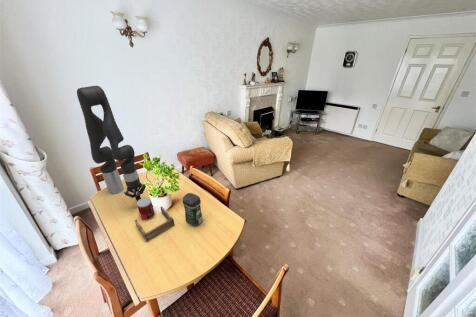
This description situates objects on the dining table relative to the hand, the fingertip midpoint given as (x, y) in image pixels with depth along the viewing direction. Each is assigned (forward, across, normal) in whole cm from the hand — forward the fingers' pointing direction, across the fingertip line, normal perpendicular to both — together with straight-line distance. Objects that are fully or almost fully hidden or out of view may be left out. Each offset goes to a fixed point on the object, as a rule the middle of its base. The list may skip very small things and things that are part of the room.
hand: (138, 200), depth 124 cm
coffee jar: (+6, -18, +34) cm, 39 cm away
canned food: (+5, 0, +12) cm, 13 cm away
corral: (+5, 0, +22) cm, 23 cm away
